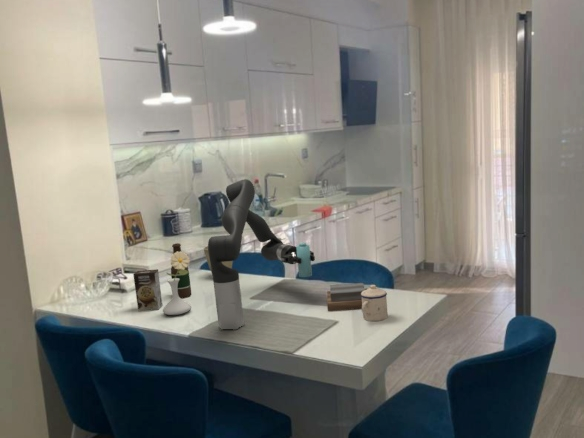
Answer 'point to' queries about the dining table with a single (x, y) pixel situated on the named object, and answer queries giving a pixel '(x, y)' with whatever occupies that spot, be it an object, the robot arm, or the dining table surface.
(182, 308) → the flower in vase
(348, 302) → the tower base
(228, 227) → the robot arm
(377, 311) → the teacup with lid
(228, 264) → the plant pot
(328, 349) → the dining table surface
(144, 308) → the coffee box
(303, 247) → the teal bottle
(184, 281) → the beer bottle
